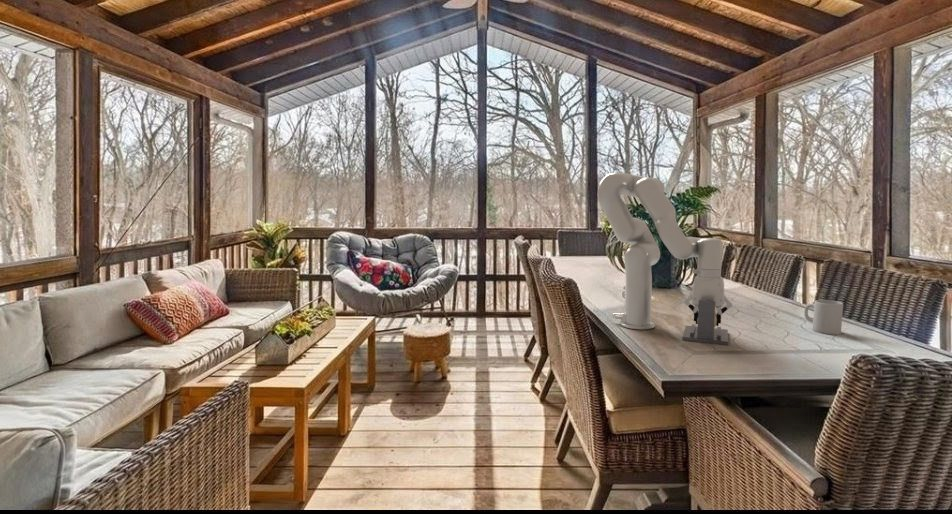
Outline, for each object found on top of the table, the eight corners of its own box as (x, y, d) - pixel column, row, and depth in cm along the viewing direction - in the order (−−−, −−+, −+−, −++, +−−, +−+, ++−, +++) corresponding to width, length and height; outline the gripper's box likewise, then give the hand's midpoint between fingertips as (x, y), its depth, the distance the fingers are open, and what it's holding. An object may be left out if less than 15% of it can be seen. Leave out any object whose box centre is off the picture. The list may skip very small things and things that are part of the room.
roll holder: (682, 340, 171) (684, 299, 169) (685, 328, 186) (687, 291, 184) (728, 345, 164) (730, 303, 163) (727, 332, 180) (729, 294, 178)
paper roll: (716, 331, 168) (716, 314, 167) (696, 329, 170) (697, 312, 170) (716, 323, 179) (717, 307, 178) (698, 321, 181) (698, 305, 181)
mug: (845, 332, 180) (847, 302, 178) (834, 336, 175) (836, 305, 174) (809, 325, 190) (811, 297, 188) (797, 328, 185) (799, 299, 184)
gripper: (681, 273, 173) (679, 324, 175) (737, 276, 165) (734, 329, 167) (682, 271, 180) (681, 319, 182) (736, 273, 172) (734, 324, 174)
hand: (707, 323), depth 174 cm, fingers closed on paper roll, 5 cm apart
